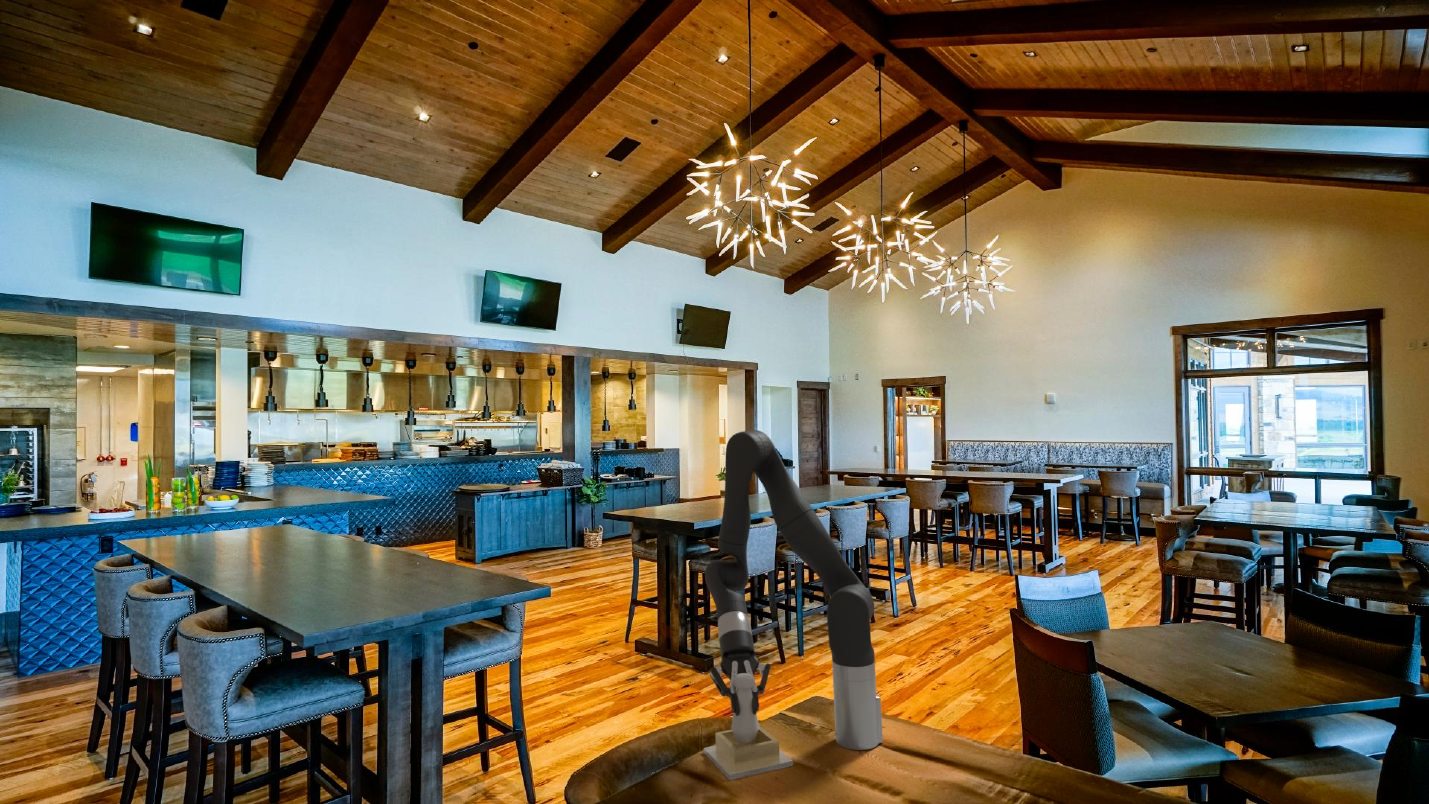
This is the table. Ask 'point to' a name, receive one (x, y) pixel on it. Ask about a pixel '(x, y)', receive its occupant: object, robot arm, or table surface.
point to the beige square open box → (746, 755)
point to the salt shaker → (744, 710)
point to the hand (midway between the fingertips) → (746, 713)
